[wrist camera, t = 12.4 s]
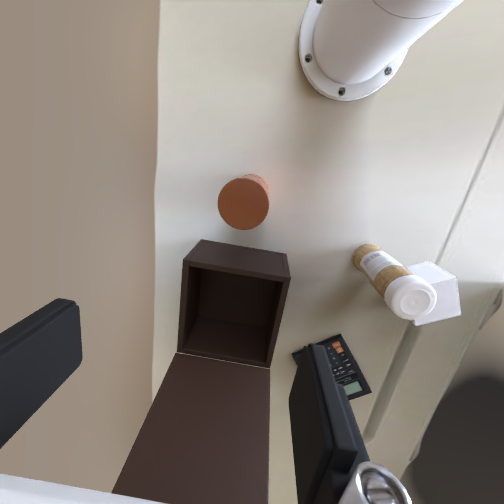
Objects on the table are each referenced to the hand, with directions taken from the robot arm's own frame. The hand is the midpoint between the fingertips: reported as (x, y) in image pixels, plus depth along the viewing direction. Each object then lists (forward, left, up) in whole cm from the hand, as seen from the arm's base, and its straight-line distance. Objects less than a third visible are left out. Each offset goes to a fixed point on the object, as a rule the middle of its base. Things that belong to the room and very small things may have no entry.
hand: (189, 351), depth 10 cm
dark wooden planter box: (+12, 0, -29) cm, 31 cm away
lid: (+20, 0, -12) cm, 23 cm away
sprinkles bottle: (+3, +19, -29) cm, 35 cm away
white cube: (+6, +27, -29) cm, 40 cm away
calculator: (+25, +19, -29) cm, 43 cm away
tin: (-3, 0, -29) cm, 29 cm away
